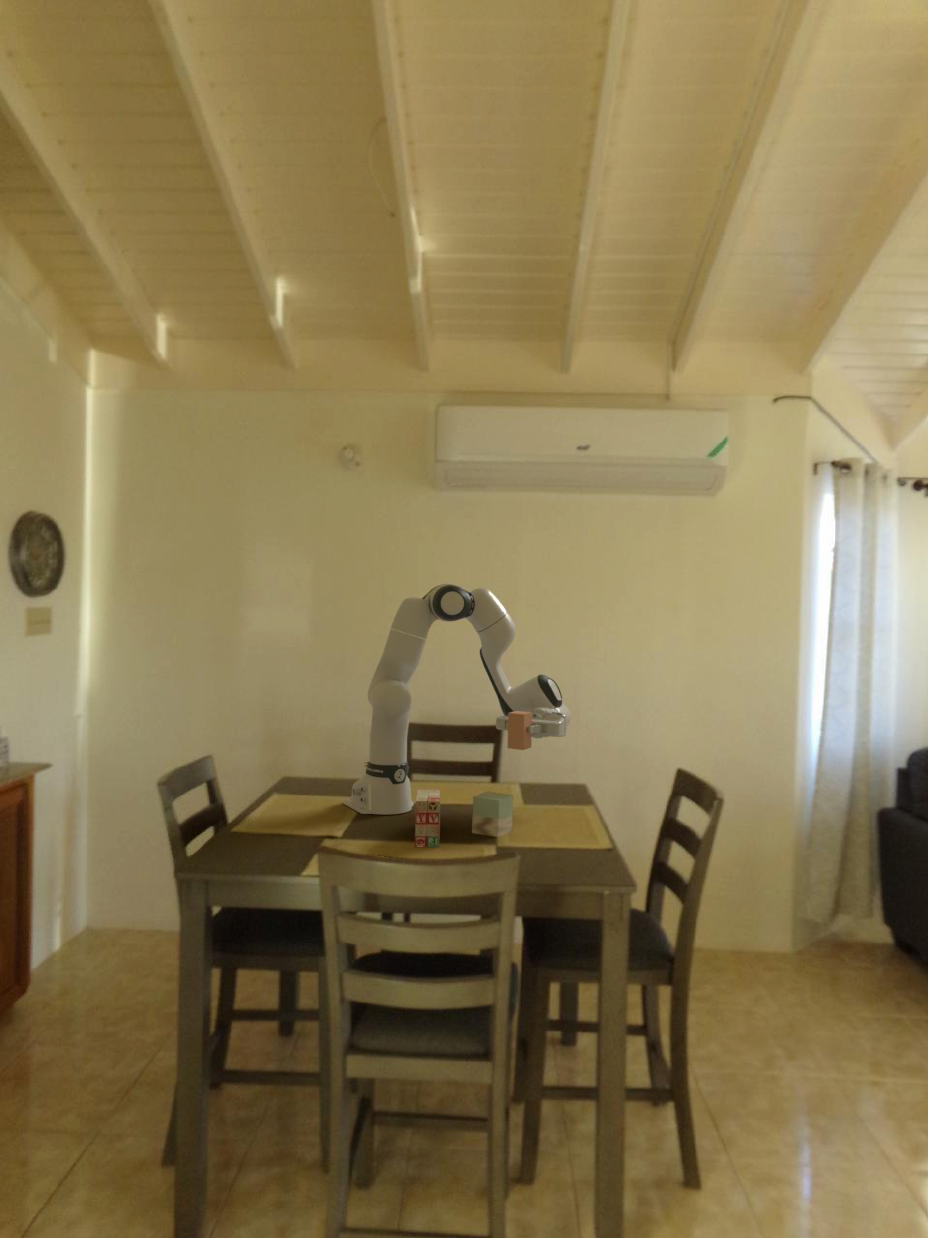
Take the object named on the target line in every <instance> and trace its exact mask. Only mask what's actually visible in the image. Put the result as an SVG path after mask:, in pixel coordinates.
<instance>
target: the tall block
mask: <svg viewBox="0 0 928 1238" xmlns="http://www.w3.org/2000/svg"><path fill="white" fill-rule="evenodd" d="M527 726H532V712H523V711H514V712H510V713H508V731H507V749H510V750H520V751H525V750H528V749H531V748H532V738H533V737H532V733H527V732H526V730H527Z"/></svg>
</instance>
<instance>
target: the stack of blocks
mask: <svg viewBox="0 0 928 1238" xmlns="http://www.w3.org/2000/svg"><path fill="white" fill-rule="evenodd" d="M414 804H415V807H414V808H415V809H414V810H415V812H414V813H415V814H414V818H415V820H414V822H415V823H414V825H415V826H414V827H415V830H414V832H415V833H414V848H418V847H417V846H423V847H422V848H437V847H438V848H439V845H440V836H441V835H440V834H441V790H440V789H417V790H416V798H415V803H414Z"/></svg>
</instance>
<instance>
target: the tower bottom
mask: <svg viewBox="0 0 928 1238" xmlns="http://www.w3.org/2000/svg"><path fill="white" fill-rule="evenodd" d="M471 819H472V820H471V833H472V834H476V835H483V836H486V837H487V836H489V837H494V838H500V837H502V836H505V835H506V834H509V833H511V832H512V831H513V813H512V814H510V815H508V816H505V817H503V818H501V819H494V818H488V817H482V816H476V815H473V814H472V818H471ZM510 831H511V832H510Z"/></svg>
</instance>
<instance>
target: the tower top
mask: <svg viewBox="0 0 928 1238" xmlns="http://www.w3.org/2000/svg"><path fill="white" fill-rule="evenodd" d="M513 813H514V794H510V793H502V792H497V791H495V792H494V791H488V790H487V791H485V792H483V793H479V794H476V795H474V796H473V797H472V815H476V816H482V817H488V818H494V819H501V818H503V817H505V816H508V815H510V814H512V815H513Z"/></svg>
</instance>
